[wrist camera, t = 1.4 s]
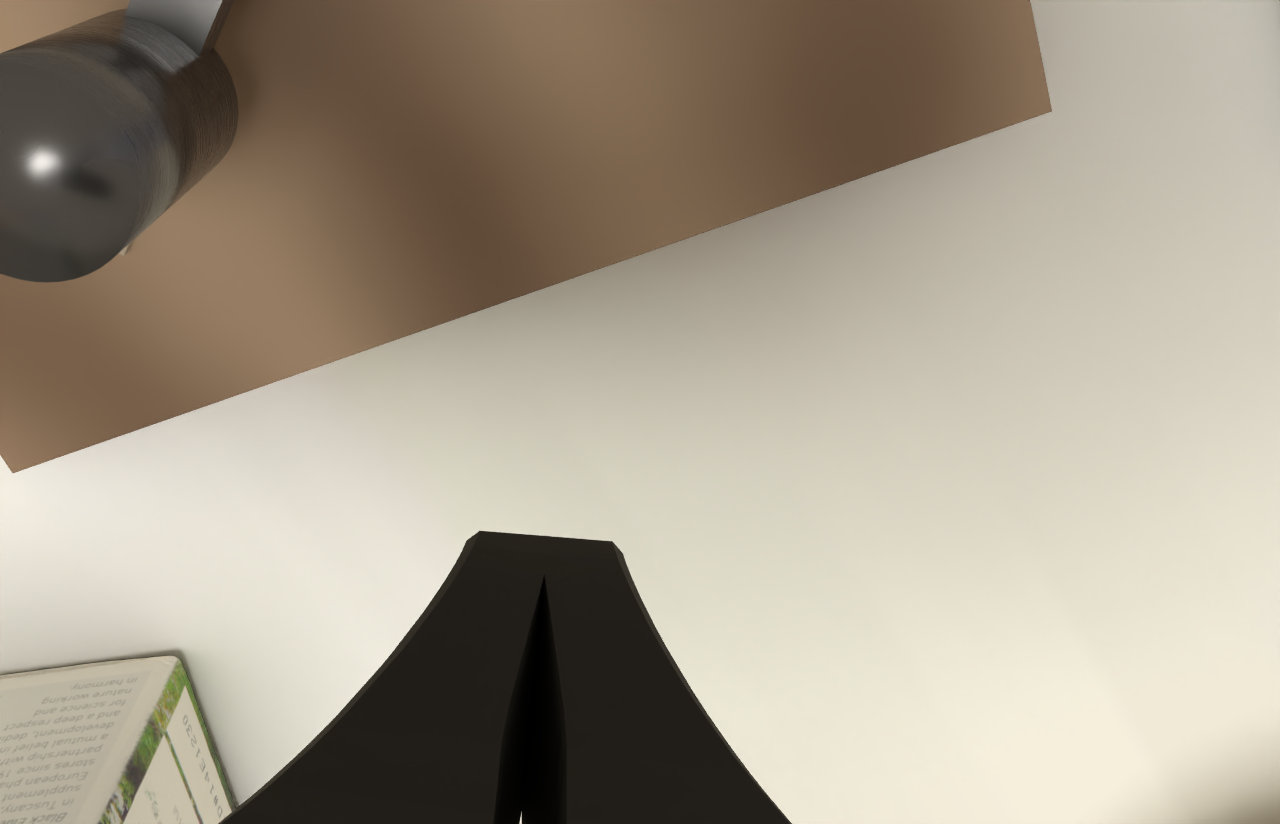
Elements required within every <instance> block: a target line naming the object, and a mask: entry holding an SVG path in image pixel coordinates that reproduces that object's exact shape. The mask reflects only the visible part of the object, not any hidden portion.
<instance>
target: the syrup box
mask: <svg viewBox="0 0 1280 824" xmlns="http://www.w3.org/2000/svg"><path fill="white" fill-rule="evenodd" d="M235 809H236V807H235V803H234V801H233V800H232V796H231V794H230V792H229V790H228V785H227V783H226V781H225V777H224V775H223V772H222V770H221V767H220V764H219V762H218V759H217V756H216V754H215V751H214V748H213V746H212V743H211V740H210V737H209V735H208V732H207V730H206V727H205V724H204V721H203V718H202V716H201V713H200V710H199V708H198V705H197V702H196V700H195V697H194V694H193V691H192V687H191V684H190V682H189V680H188V677H187V674H186V672H185V670H184V668H183V666H182V663H181V660H180V659H178V658H177V657H174V656H160V657H150V658H140V659H128V660H119V661H107V662H99V663H90V664H81V665H75V666H68V667H60V668H51V669H44V670H38V671H30V672H22V673H15V674H7V675H0V824H218V823H219V822H221V821H222V820H223V819H224V818H225V817H227V816H228V815H229V814H230V813H232V812H233V811H234V810H235Z"/></svg>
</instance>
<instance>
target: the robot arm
mask: <svg viewBox="0 0 1280 824" xmlns="http://www.w3.org/2000/svg"><path fill="white" fill-rule="evenodd" d="M521 811H522V824H792V823H791V822H790V821H789V820H788V819H787V818H786V816H785V815H784V814H783V813H782V812H781V810H780V809H779V808H778V807H777V806H776V805H775V803H774V802H773V801H772V800H771V799H770V797H769V796H768V795H767V794H766V793H765V791H764V790H763V789H762V788H761V786H760V785H759V784H758V783H757V781H756V780H755V779H754V778H753V776H752V775H751V774H750V773H749V771H748V770H747V769H746V767H745V766H744V765H743V763H742V762H741V761H740V759H739V758H738V757H737V755H736V754H735V753H734V751H733V750H732V748H731V747H730V746H729V744H728V743H727V741H726V740H725V738H724V737H723V736H722V734H721V733H720V731H719V730H718V728H717V727H716V726H715V724H714V723H713V721H712V720H711V718H710V717H709V716H708V714H707V713H706V711H705V709H704V708H703V706H702V705H701V703H700V702H699V700H698V699H697V697H696V696H695V694H694V693H693V691H692V689H691V688H690V686H689V684H688V683H687V681H686V679H685V678H684V676H683V674H682V673H681V671H680V669H679V668H678V666H677V664H676V662H675V661H674V659H673V657H672V656H671V654H670V652H669V651H668V649H667V647H666V646H665V644H664V642H663V640H662V638H661V636H660V635H659V633H658V631H657V629H656V627H655V625H654V623H653V621H652V619H651V617H650V615H649V613H648V612H647V610H646V608H645V606H644V604H643V602H642V599H641V597H640V595H639V593H638V591H637V589H636V586H635V584H634V582H633V580H632V577H631V575H630V572H629V570H628V567H627V565H626V562H625V559H624V556H623V553H622V552H621V551H620V550H619V549H618V547H617V546H616V545H615V544H614V543H613V542H612V541H599V540H587V539H575V538H562V537H550V536H537V535H525V534H512V533H500V532H488V531H479V532H478V533H476V534H475V535H474V536H472V537H471V538H470V539H468V540H467V541H466V543H465V546H464V548H463V550H462V552H461V554H460V556H459V558H458V560H457V561H456V563H455V565H454V567H453V568H452V570H451V572H450V573H449V575H448V577H447V578H446V580H445V581H444V583H443V584H442V586H441V587H440V589H439V590H438V592H437V593H436V595H435V596H434V598H433V599H432V601H431V602H430V604H429V605H428V606H427V608H426V609H425V611H424V612H423V613H422V615H421V616H420V617H419V619H418V620H417V621H416V622H415V624H414V625H413V626H412V628H411V629H410V630H409V632H408V633H407V634H406V636H405V637H404V638H403V639H402V641H401V642H400V643H399V645H398V646H397V647H396V649H395V650H394V651H393V652H392V654H391V655H390V656H389V657H388V659H387V660H386V661H385V662H384V663H383V665H382V666H381V667H380V668H379V669H378V670H377V671H376V673H375V674H374V675H373V676H372V677H371V678H370V679H369V680H368V681H367V683H366V684H365V685H364V686H363V687H362V688H361V689H360V690H359V692H358V693H357V694H356V695H355V696H354V697H353V698H352V699H351V700H350V702H349V703H348V704H347V705H346V706H345V707H344V708H343V709H342V710H341V712H340V713H339V714H338V715H337V716H336V717H335V718H334V719H333V720H332V721H331V722H330V723H329V724H328V725H327V726H326V727H325V728H324V729H323V730H322V731H321V732H320V733H319V734H318V735H317V736H316V737H315V738H314V739H313V740H312V741H311V742H310V743H309V744H308V745H307V746H306V747H305V748H304V749H303V750H302V751H301V752H300V753H299V754H298V755H297V756H296V757H295V758H294V759H293V760H292V761H290V762H289V763H288V764H287V765H286V766H285V767H284V768H283V769H282V770H281V771H279V772H278V773H277V774H276V775H275V776H274V777H273V778H272V779H271V780H270V781H268V782H267V783H266V784H265V785H264V786H263V787H262V788H261V789H259V790H258V791H257V792H256V793H255V794H254V795H252V796H251V797H250V798H249V799H248V800H246V801H245V802H244V803H243V804H241V805H240V806H239V807H238V808H236V809H235V810H234V811H233V812H232V813H230V814H229V815H228V816H227V817H225V818H224V819H223V820H222V821H221V822H219V823H218V824H519V822H520V817H521Z"/></svg>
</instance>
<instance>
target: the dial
mask: <svg viewBox="0 0 1280 824" xmlns="http://www.w3.org/2000/svg"><path fill="white" fill-rule="evenodd" d="M233 2H234V0H130V2H129V4H128V7H127V9H120V10H115V11H110V12H107V13H105V14H102V15H99V16H97V17H94V18H92V19H89V20H86V21H84V22H81V23H78V24H76V25H73V26H71V27H68V28H65V29H63V30H60V31H57V32H55V33H52V34H50V35H47V36H44V37H42V38H39V39H37V40H34V41H31V42H29V43H26V44H23V45H21V46H18V47H16V48H13V49H10V50H8V51H5V52H3V53H0V274H3V275H6V276H9V277H13V278H16V279H20V280H26V281H32V282H46V283H49V282H62V281H68V280H73V279H77V278H80V277H82V276H85V275H88V274H90V273H92V272H94V271H96V270H98V269H100V268H101V267H103V266H104V265H105V264H107V263H108V262H109V261H111V260H112V259H113V258H114V257H115V256H116V255H117V254H119V253H120V252H121V251H122V250H123V249H124V248H125V247H126V246H127V245H129V244H130V243H131V242H132V241H133V240H134V239H135V238H136V237H137V236H139V235H140V234H141V233H142V232H143V231H144V230H145V229H146V228H148V227H149V226H150V225H151V224H152V223H153V222H154V221H155V220H156V219H158V218H159V217H160V216H161V215H162V214H163V213H164V212H165V211H167V210H168V209H169V208H170V207H171V206H172V205H173V204H174V203H175V202H177V201H178V200H179V199H180V198H181V197H182V196H183V195H184V194H186V193H187V192H188V191H189V190H190V189H191V188H192V187H193V186H194V185H196V184H197V183H198V182H199V181H200V180H201V179H202V178H203V177H205V176H206V175H207V174H208V173H209V172H210V171H211V170H212V169H213V168H214V167H215V166H217V165H218V164H219V163H220V162H221V160H222V159H223V158H224V156H225V155H226V154H227V152H228V150H229V148H230V147H231V145H232V142H233V140H234V137H235V134H236V130H237V125H238V113H239V110H238V99H237V94H236V89H235V86H234V83H233V80H232V77H231V75H230V73H229V70H228V68H227V66H226V64H225V63H224V61H223V60H222V58H221V56H220V55H219V54H218V52H217V51H216V50H215V49H214V47H215V45H216V42H217V40H218V37H219V35H220V33H221V30H222V28H223V26H224V23H225V21H226V19H227V16H228V14H229V12H230V9H231V7H232V5H233Z"/></svg>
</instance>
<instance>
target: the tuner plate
mask: <svg viewBox="0 0 1280 824" xmlns="http://www.w3.org/2000/svg"><path fill="white" fill-rule="evenodd" d="M129 2H130V0H0V53H3V52H5V51H8V50H10V49H13V48H16V47H18V46H21V45H23V44H26V43H29V42H31V41H34V40H37V39H39V38H42V37H44V36H47V35H50V34H52V33H55V32H57V31H60V30H63V29H65V28H68V27H71V26H73V25H76V24H78V23H81V22H84V21H86V20H89V19H92V18H94V17H97V16H99V15H102V14H105V13H107V12H110V11H115V10H120V9H127V7H128V4H129ZM214 49H215V50H216V51H217V52H218V54H219V55H220V56H221V58H222V60H223V61H224V63H225V64H226V66H227V68H228V70H229V73H230V75H231V77H232V80H233V83H234V86H235V89H236V94H237V99H238V110H239V113H238V125H237V130H236V134H235V137H234V140H233V142H232V145H231V147H230V148H229V150H228V152H227V154H226V155H225V156H224V158H223V159H222V160H221V162H220V163H219V164H218V165H217V166H215V167H214V168H213V169H212V170H211V171H210V172H209V173H208V174H207V175H206V176H205V177H203V178H202V179H201V180H200V181H199V182H198V183H197V184H196V185H194V186H193V187H192V188H191V189H190V190H189V191H188V192H187V193H186V194H184V195H183V196H182V197H181V198H180V199H179V200H178V201H177V202H175V203H174V204H173V205H172V206H171V207H170V208H169V209H168V210H167V211H165V212H164V213H163V214H162V215H161V216H160V217H159V218H158V219H156V220H155V221H154V222H153V223H152V224H151V225H150V226H149V227H148V228H146V229H145V230H144V231H143V232H142V233H141V234H140V235H139V236H137V237H136V238H135V239H134V240H133V241H132V242H131V243H130V244H129V245H127V246H126V247H125V248H124V249H123V250H122V251H121V252H120V253H119V254H117V255H116V256H115V257H114V258H113V259H112V260H111V261H109V262H108V263H107V264H105V265H104V266H103V267H101V268H100V269H98V270H96V271H94V272H92V273H90V274H88V275H85V276H82V277H80V278H77V279H73V280H68V281H62V282H49V283H46V282H32V281H26V280H20V279H16V278H13V277H9V276H6V275H3V274H0V455H1V457H2V458H3V460H4V461H5V463H6V464H7V465H8V467H9V468H10V470H11V471H12V473H15V472H18V471H21V470H24V469H26V468H29V467H32V466H35V465H38V464H41V463H44V462H47V461H49V460H52V459H55V458H58V457H61V456H64V455H67V454H69V453H72V452H75V451H78V450H81V449H84V448H87V447H90V446H92V445H95V444H98V443H101V442H104V441H107V440H110V439H113V438H115V437H118V436H121V435H124V434H127V433H130V432H133V431H135V430H138V429H141V428H144V427H147V426H150V425H153V424H156V423H158V422H161V421H164V420H167V419H170V418H173V417H176V416H179V415H181V414H184V413H187V412H190V411H193V410H196V409H199V408H202V407H204V406H207V405H210V404H213V403H216V402H219V401H222V400H224V399H227V398H230V397H233V396H236V395H239V394H242V393H245V392H247V391H250V390H253V389H256V388H259V387H262V386H265V385H268V384H270V383H273V382H276V381H279V380H282V379H285V378H288V377H290V376H293V375H296V374H299V373H302V372H305V371H308V370H311V369H313V368H316V367H319V366H322V365H325V364H328V363H331V362H334V361H336V360H339V359H342V358H345V357H348V356H351V355H354V354H356V353H359V352H362V351H365V350H368V349H371V348H374V347H377V346H379V345H382V344H385V343H388V342H391V341H394V340H397V339H400V338H402V337H405V336H408V335H411V334H414V333H417V332H420V331H422V330H425V329H428V328H431V327H434V326H437V325H440V324H443V323H445V322H448V321H451V320H454V319H457V318H460V317H463V316H466V315H468V314H471V313H474V312H477V311H480V310H483V309H486V308H488V307H491V306H494V305H497V304H500V303H503V302H506V301H509V300H511V299H514V298H517V297H520V296H523V295H526V294H529V293H532V292H534V291H537V290H540V289H543V288H546V287H549V286H552V285H554V284H557V283H560V282H563V281H566V280H569V279H572V278H575V277H577V276H580V275H583V274H586V273H589V272H592V271H595V270H598V269H600V268H603V267H606V266H609V265H612V264H615V263H618V262H621V261H623V260H626V259H629V258H632V257H635V256H638V255H641V254H643V253H646V252H649V251H652V250H655V249H658V248H661V247H664V246H666V245H669V244H672V243H675V242H678V241H681V240H684V239H687V238H689V237H692V236H695V235H698V234H701V233H704V232H707V231H709V230H712V229H715V228H718V227H721V226H724V225H727V224H730V223H732V222H735V221H738V220H741V219H744V218H747V217H750V216H753V215H755V214H758V213H761V212H764V211H767V210H770V209H773V208H775V207H778V206H781V205H784V204H787V203H790V202H793V201H796V200H798V199H801V198H804V197H807V196H810V195H813V194H816V193H819V192H821V191H824V190H827V189H830V188H833V187H836V186H839V185H841V184H844V183H847V182H850V181H853V180H856V179H859V178H862V177H864V176H867V175H870V174H873V173H876V172H879V171H882V170H885V169H887V168H890V167H893V166H896V165H899V164H902V163H905V162H907V161H910V160H913V159H916V158H919V157H922V156H925V155H928V154H930V153H933V152H936V151H939V150H942V149H945V148H948V147H951V146H953V145H956V144H959V143H962V142H965V141H968V140H971V139H973V138H976V137H979V136H982V135H985V134H988V133H991V132H994V131H996V130H999V129H1002V128H1005V127H1008V126H1011V125H1014V124H1017V123H1019V122H1022V121H1025V120H1028V119H1031V118H1034V117H1037V116H1040V115H1042V114H1045V113H1048V112H1051V111H1052V109H1051V104H1050V99H1049V94H1048V89H1047V84H1046V79H1045V74H1044V69H1043V64H1042V59H1041V53H1040V48H1039V43H1038V38H1037V33H1036V28H1035V23H1034V18H1033V13H1032V8H1031V3H1030V0H234V2H233V5H232V7H231V9H230V12H229V14H228V16H227V19H226V21H225V23H224V26H223V28H222V30H221V33H220V35H219V37H218V40H217V42H216V45H215V47H214Z"/></svg>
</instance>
